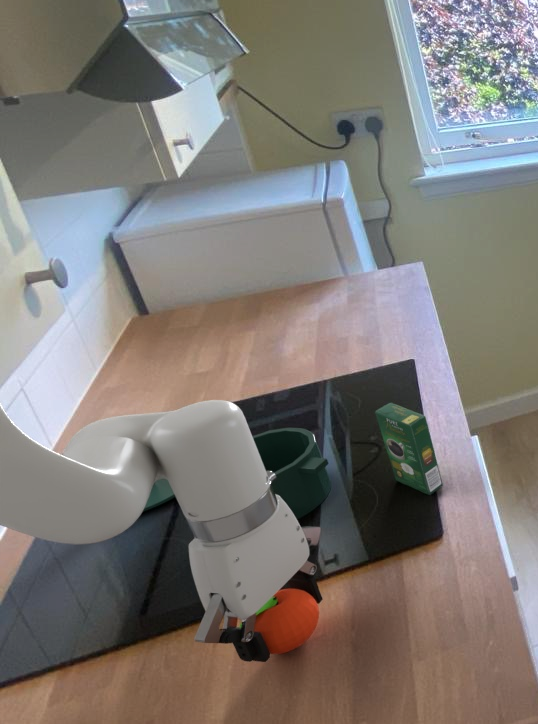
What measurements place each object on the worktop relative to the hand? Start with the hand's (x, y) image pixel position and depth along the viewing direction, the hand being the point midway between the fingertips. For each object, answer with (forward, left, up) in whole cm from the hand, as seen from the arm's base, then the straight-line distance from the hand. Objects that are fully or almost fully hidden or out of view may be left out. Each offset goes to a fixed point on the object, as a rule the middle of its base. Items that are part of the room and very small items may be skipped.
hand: (284, 628), depth 85 cm
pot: (+22, +21, -3) cm, 30 cm away
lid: (+22, +44, -2) cm, 49 cm away
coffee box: (+28, +2, -3) cm, 28 cm away
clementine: (0, 0, -3) cm, 3 cm away
